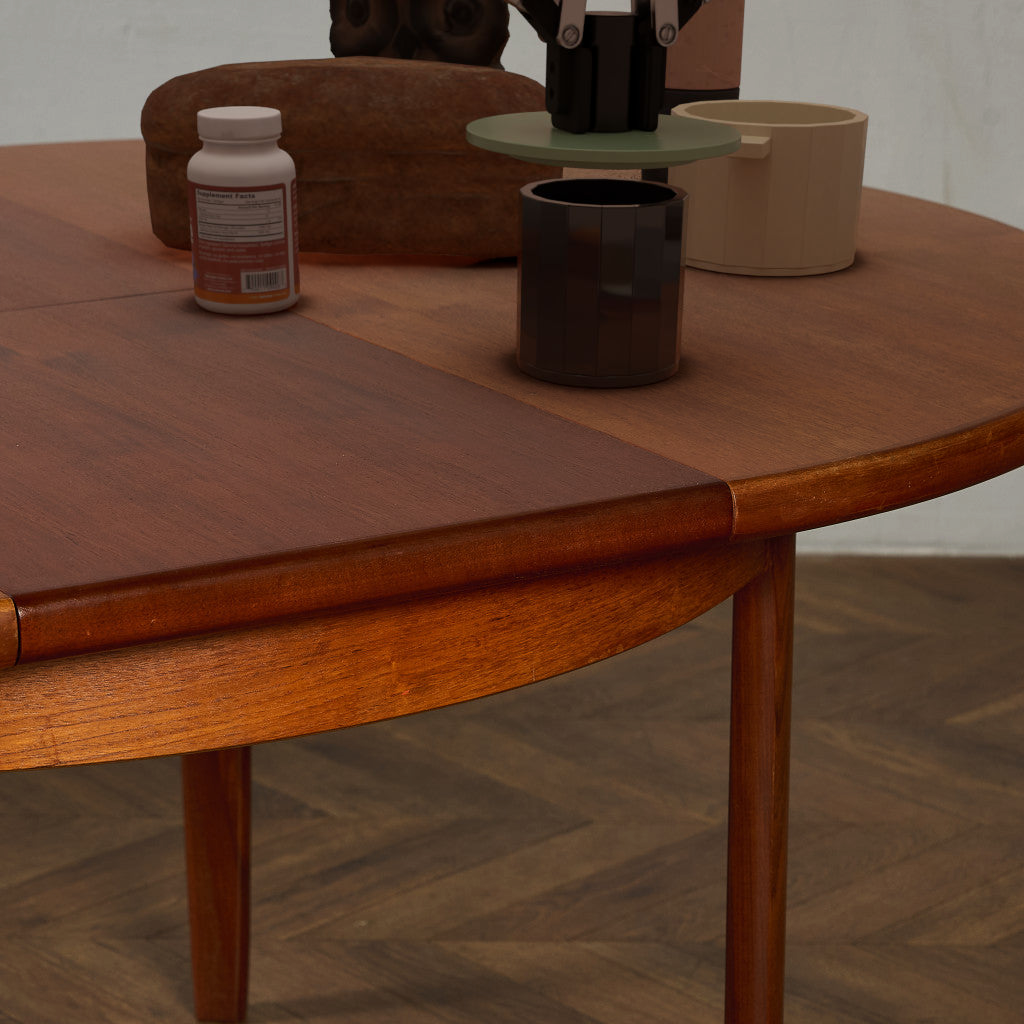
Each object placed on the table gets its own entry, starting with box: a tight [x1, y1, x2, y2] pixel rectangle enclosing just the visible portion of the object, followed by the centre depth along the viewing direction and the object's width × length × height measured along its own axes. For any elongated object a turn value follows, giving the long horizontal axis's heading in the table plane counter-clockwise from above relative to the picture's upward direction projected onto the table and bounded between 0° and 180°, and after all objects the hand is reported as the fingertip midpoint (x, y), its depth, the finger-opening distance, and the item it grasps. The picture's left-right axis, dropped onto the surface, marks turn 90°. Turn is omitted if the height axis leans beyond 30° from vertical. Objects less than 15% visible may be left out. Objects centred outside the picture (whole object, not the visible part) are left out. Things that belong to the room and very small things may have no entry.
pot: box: [668, 99, 869, 277], centre depth 109 cm, size 13×18×10 cm
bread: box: [139, 56, 564, 259], centre depth 109 cm, size 14×28×12 cm, turn 90°
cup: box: [515, 176, 689, 389], centre depth 83 cm, size 8×8×9 cm
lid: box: [466, 10, 741, 171], centre depth 80 cm, size 14×14×7 cm
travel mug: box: [640, 0, 746, 184], centre depth 128 cm, size 8×8×20 cm
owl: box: [328, 0, 511, 71], centre depth 128 cm, size 13×13×20 cm
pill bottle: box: [187, 106, 301, 315], centre depth 94 cm, size 6×6×11 cm
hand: (604, 125), depth 81 cm, fingers closed on lid, 3 cm apart
